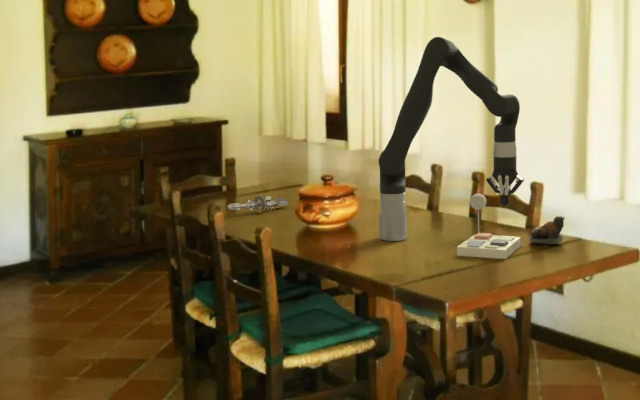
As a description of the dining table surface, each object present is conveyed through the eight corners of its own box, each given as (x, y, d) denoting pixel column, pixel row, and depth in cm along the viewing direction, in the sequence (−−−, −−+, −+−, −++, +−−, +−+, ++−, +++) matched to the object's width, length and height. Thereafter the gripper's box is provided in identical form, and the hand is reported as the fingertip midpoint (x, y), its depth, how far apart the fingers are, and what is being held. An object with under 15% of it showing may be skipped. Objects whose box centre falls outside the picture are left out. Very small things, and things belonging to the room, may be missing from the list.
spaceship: (219, 200, 378) (231, 195, 372) (280, 196, 403) (291, 191, 397) (224, 218, 376) (235, 213, 371) (284, 213, 401) (296, 208, 396)
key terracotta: (474, 242, 309) (474, 235, 309) (478, 239, 313) (478, 232, 313) (487, 243, 307) (487, 236, 306) (491, 240, 311) (491, 233, 310)
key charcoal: (490, 249, 298) (490, 242, 298) (494, 246, 302) (494, 239, 302) (504, 250, 296) (503, 243, 296) (507, 247, 300) (507, 240, 300)
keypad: (456, 255, 299) (456, 245, 298) (475, 242, 316) (475, 232, 315) (505, 259, 291) (505, 248, 290) (521, 245, 308) (521, 235, 308)
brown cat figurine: (526, 244, 309) (526, 215, 308) (534, 240, 315) (534, 212, 313) (560, 247, 303) (560, 218, 301) (567, 243, 308) (568, 214, 307)
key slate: (467, 250, 302) (467, 243, 302) (471, 247, 306) (471, 240, 306) (480, 251, 300) (480, 244, 300) (484, 248, 304) (484, 241, 304)
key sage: (497, 246, 305) (497, 239, 305) (501, 243, 309) (501, 236, 309) (510, 247, 303) (510, 240, 303) (514, 244, 307) (514, 237, 307)
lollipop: (486, 236, 325) (486, 195, 322) (470, 236, 326) (469, 195, 323) (487, 232, 331) (486, 192, 328) (470, 232, 332) (470, 192, 329)
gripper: (527, 153, 301) (527, 204, 304) (489, 152, 307) (489, 202, 310) (521, 156, 294) (521, 208, 297) (482, 155, 300) (482, 206, 304)
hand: (505, 205), depth 304 cm, fingers closed
